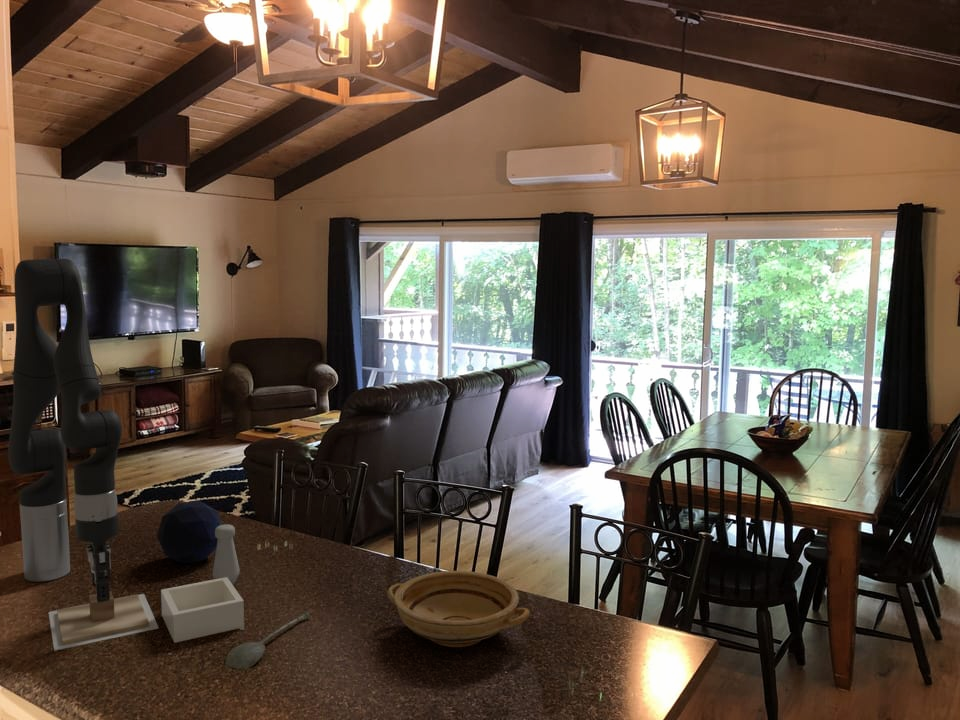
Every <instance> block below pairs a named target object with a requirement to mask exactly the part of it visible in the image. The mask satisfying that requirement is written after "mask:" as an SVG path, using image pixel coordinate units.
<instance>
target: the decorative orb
mask: <svg viewBox="0 0 960 720" xmlns="http://www.w3.org/2000/svg"><path fill="white" fill-rule="evenodd" d="M220 525H223V523H222V520H221V518H220V516H219V512H218V511H217V509H215V508H213V507H211V506H210V505H208V504H207V503H204V502H202V501H201V500H195V501H184V502H178V503H177V504H175V505H174V507H172V508H171V509H170V510H169V511H167V512H166V513H165V514H163V515H162V516H161V520H160V524H159V527H158V531H157V534H156V537H157V540H158V542H159V545H160V547H161V549H162V552H163V554H164V555H165V556H167V557H168V558H171V559H172V560H174V561H176V562H178V563H179V564H194V563H199V562H203V561H204V560H205V559H206V558H208V557H209V556H210V555H212V554H213V552H216V548H217V541H218V538H216V537H215V529H216V528H217V527H218V526H220Z"/></svg>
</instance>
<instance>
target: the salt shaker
mask: <svg viewBox="0 0 960 720" xmlns="http://www.w3.org/2000/svg"><path fill="white" fill-rule="evenodd" d="M235 534H236V528H235V526H233V524H222V525H220V526H218V527H217V528H216V529H215V537H216V538H218V541H217V548H216V550H215V555H214V556H215V557H214V561H213V566H212V567H213V568H212V577H213V580H214V579H219V578H225V577H227V578H228V579H229V581H230V582H231V583H232V585H235V583H236V582H237V579H238V578H239V575H240V570H241V569H240V565H239V562H238V560H239V559H238V557H237V551H236V547H235V542H234V537H235Z"/></svg>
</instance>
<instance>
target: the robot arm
mask: <svg viewBox="0 0 960 720" xmlns="http://www.w3.org/2000/svg"><path fill="white" fill-rule="evenodd" d="M84 297H85V295H84V290H83V285H82V279H81V275H80V271H79V270H78V266H77V265H76V263H75V262H73V261H72V260H71V259H69V258H36V259H35V258H34V259H24V260H22V261H21V260H20V261H19V262H18V263H17V265H16V267H15V272H14V303H15V304H14V305H15V306H14V307H15V329H16V330H15V346H14V358H13V359H14V360H13V375H12V376H13V378H12V379H13V380H12V382H13V383H12V386H13V387H12V389H13V391H12V392H13V399H12V400H13V402H12V415H11V416H12V418H11V424H10V430H9V431H10V432H9V439H8V447H7V449H8V450H7V455H8V456H7V457H8V464H9V467H10V469H11V471H13V473H15V474H18V475H26V474H27V475H28V474H34V473H39V472H45V473H44V475H42V477H40V478H39V479H38V480H36V481H35V482H33V483H31V484H29V485H27V486H25V487H23V488H22V489H20V491H19V494H18V499H19V516H20V530H21V542H22V543H21V545H22V547H21V548H22V559H23V560H22V561H23V563H22V564H23V574H24V575H23V577H24V579H25V580H27V581H29V582H39V583H40V582H47V581H48V582H49V581H53V580H57V579H59V578H63V577H65V576H67V575H68V574H69V573H70V572H71V562H70V561H71V560H70V559H71V558H70V542H69V540H70V539H69V524H68V523H69V522H68V521H69V520H68V506H67V505H68V504H67V502H68V501H67V482H66V481H67V480H66V477H67V475H66V463H67V462H66V456H67V455H66V453H67V451H66V448H68V449H69V450H70V451H73V452H77V451H78V452H79V451H81V452H82V451H85V450H86V451H87V450H92V449H95V451H94V453H93V455H92V456H90V457H88V458H86V459H84V460H81V461H79V462H78V463H76V464H75V465H74V468H73V479H74V503H73V504H74V520H75V521H74V522H75V523H74V524H75V525H74V526H75V537H76V539H77V540H78V541H79V542H83V543H88V545H86V554H87V559H88V560H87V561H88V563H89V566H90V571H91V583H92V587H94V588H95V591H96V593H95V594H97V601H98V602H104V601H108V600H109V599H110V593H109V591H110V583H111V582H112V581H111V580H112V576H111V569H112V562H111V554H112V550H111V546H110V543H109V541H108V540H111V539H113V538H115V537H117V535H118V534H119V533H120V528H119V513H118V512H119V511H118V510H119V509H118V508H119V507H118V497H117V493H116V482H115V481H116V480H115V476H116V475H115V468H116V467H115V465H116V461H117V457H118V451H119V448H120V443H121V441H122V440H121V439H122V435H123V424H122V421H121V418H120V417H119V415H118V414H117V412H115V411H114V410H111V409H102V410H94V411H88V412H87V411H86V412H82V409H81V407H82V406H83V405H86V404H87V403H91V402H94V401H95V400H97V399H98V398H99V397H100V396H101V394H102V389H101V387H102V386H101V383H100V380H99V376H98V374H97V370H96V367H95V362H94V359H93V354H92V351H91V345H90V338H89V329H88V320H87V313H86V312H87V311H86V305H85V298H84ZM60 305H61V306H64V307H65V312H66V323H65V327H64V330H63V332H62V334H61V338H60V339H59V341H58V344H56V343H55V341H54V340H53V339H52V338H51V337H50V336H49V334H48V333H47V332H46V330H45V329H44V327H43V326H42V324H41V322H40V321H39V316H38V309H39V308H40V307H46V306H47V307H50V306H60ZM59 393H60V397H61V400H60V401H61V421H60V429H58V428H46V429H45V428H44V429H37V430H33V428H34V425H35V423H36V422H37V420H38V419H39V417H40V416H41V415H42V414H43V412H44V411H45V410H47V408H48V407H49V406H50V405H51V404H52V403H53V401H54V400H55V399H56V398H57V397H58V395H59ZM107 541H108V542H107Z"/></svg>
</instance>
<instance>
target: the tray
mask: <svg viewBox="0 0 960 720" xmlns="http://www.w3.org/2000/svg"><path fill="white" fill-rule="evenodd" d="M137 595H138V597H139V599H140V602H141V604H142V607H143V609H144V612H145V614H146V616H147V619H148V621H149V627H146V628H141V629H136V630H131V631H127V632H122V633H117V634H113V635H108V636H103V637H99V638H94V639H89V640H84V641H80V642H75V643H70V644H66V645H63V643H62V637H61V632H60V626H59V620H58V614H57V610H53V611H49V612H48V618H49V623H50V624H49V626H50V631H51V638H52V644H53V645H52V646H53V651H54V652H55V651H58V650H64V649H70V648H74V647H79V646H83V645H88V644H92V643H97V642H101V641H106V640H110V639H115V638H120V637H121V638H122V637H125V636H131V635H135V634H139V633H143V632H147V631H148V632H149V631H152V630H157V629H159V628H160V627H159V625H158V623H157V620H156V618H155V616H154V613H153V611H152V609H151V606H150V604H149V603H148V600H147V598H146V595H145V593H141V594H137Z"/></svg>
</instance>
